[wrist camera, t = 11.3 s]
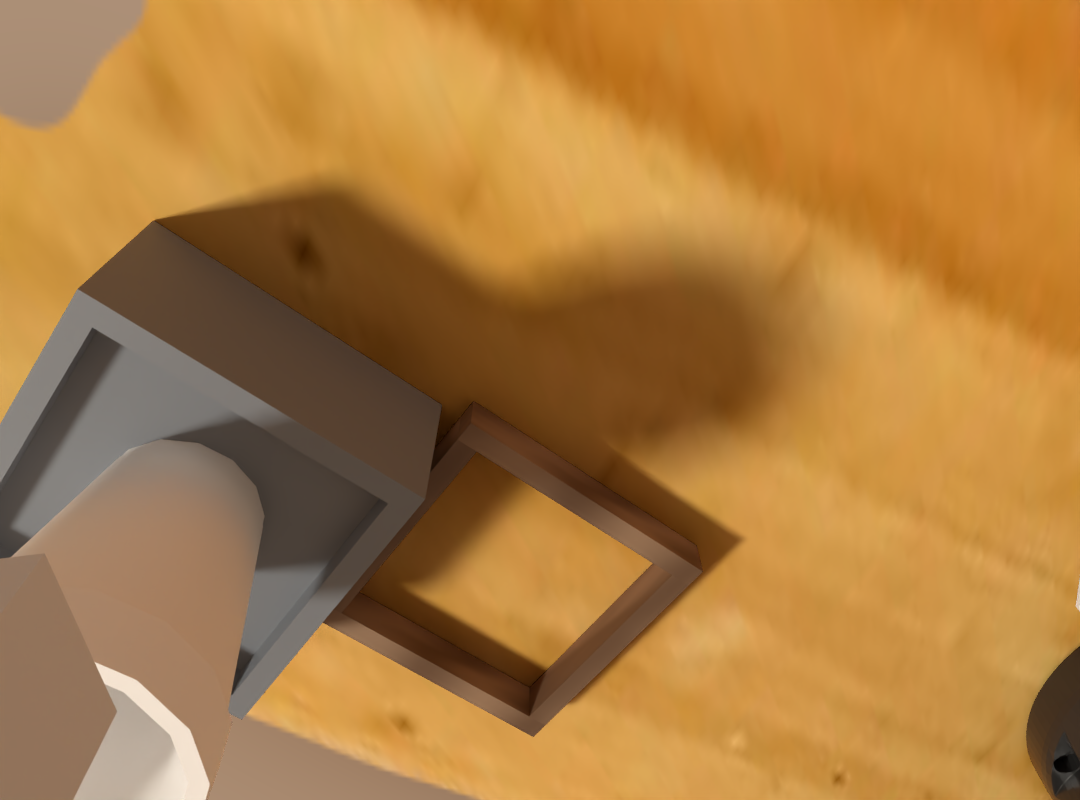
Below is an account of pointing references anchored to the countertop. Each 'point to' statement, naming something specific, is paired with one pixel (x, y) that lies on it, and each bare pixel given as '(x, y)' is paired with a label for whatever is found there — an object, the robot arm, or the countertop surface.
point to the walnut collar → (594, 647)
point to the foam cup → (159, 610)
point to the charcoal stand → (224, 428)
